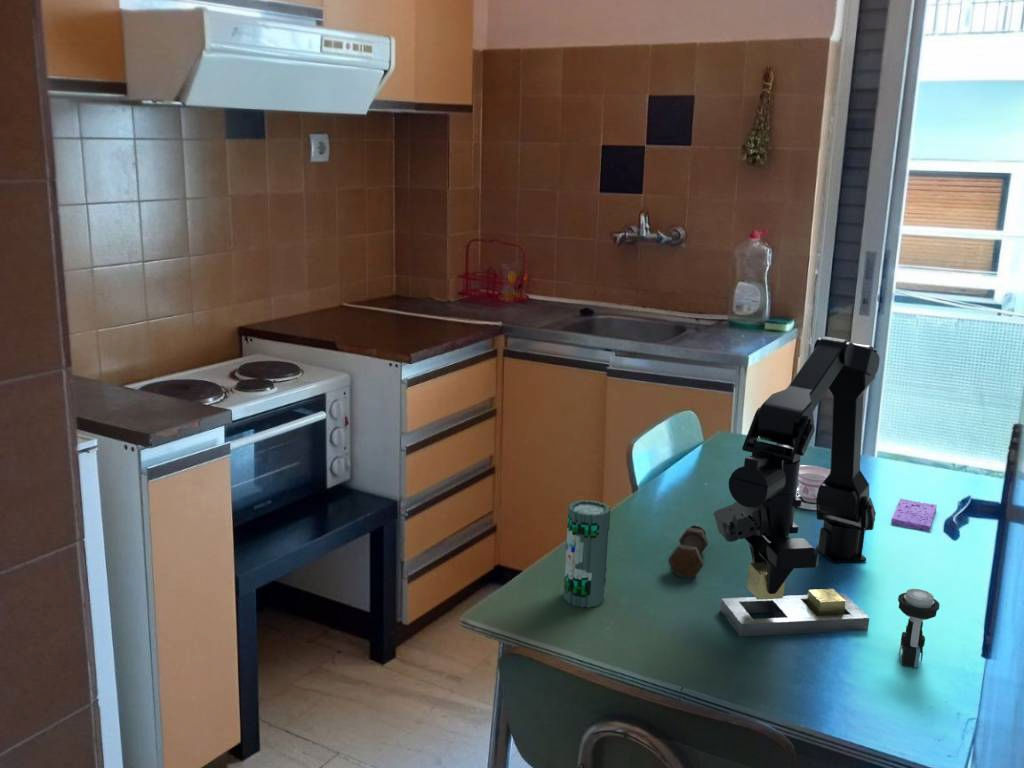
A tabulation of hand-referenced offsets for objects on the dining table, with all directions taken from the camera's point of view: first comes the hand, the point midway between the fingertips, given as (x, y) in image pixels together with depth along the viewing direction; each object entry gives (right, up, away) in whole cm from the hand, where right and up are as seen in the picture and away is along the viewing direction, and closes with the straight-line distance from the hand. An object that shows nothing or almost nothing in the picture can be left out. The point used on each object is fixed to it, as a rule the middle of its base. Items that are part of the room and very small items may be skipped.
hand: (765, 586), depth 147 cm
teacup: (+22, +6, +53) cm, 58 cm away
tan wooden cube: (+10, -6, +3) cm, 11 cm away
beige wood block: (0, -1, 0) cm, 1 cm away
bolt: (-7, 0, +23) cm, 24 cm away
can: (-27, -3, +7) cm, 28 cm away
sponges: (+40, +4, +45) cm, 61 cm away
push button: (+18, -9, -7) cm, 22 cm away
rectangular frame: (+5, -5, +2) cm, 8 cm away
